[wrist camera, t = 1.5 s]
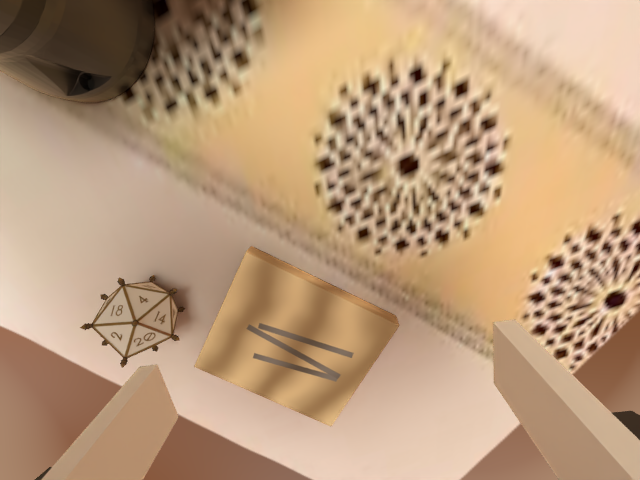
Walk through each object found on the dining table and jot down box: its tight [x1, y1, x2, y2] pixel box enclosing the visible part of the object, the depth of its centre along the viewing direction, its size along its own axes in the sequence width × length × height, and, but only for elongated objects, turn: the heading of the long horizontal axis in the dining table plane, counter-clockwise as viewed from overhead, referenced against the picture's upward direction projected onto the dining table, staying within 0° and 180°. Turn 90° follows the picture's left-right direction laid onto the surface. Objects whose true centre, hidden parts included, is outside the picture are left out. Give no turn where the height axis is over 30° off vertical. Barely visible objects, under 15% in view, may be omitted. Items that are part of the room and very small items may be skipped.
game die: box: [80, 275, 185, 368], centre depth 31 cm, size 9×8×10 cm
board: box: [194, 246, 399, 426], centre depth 35 cm, size 18×16×2 cm
